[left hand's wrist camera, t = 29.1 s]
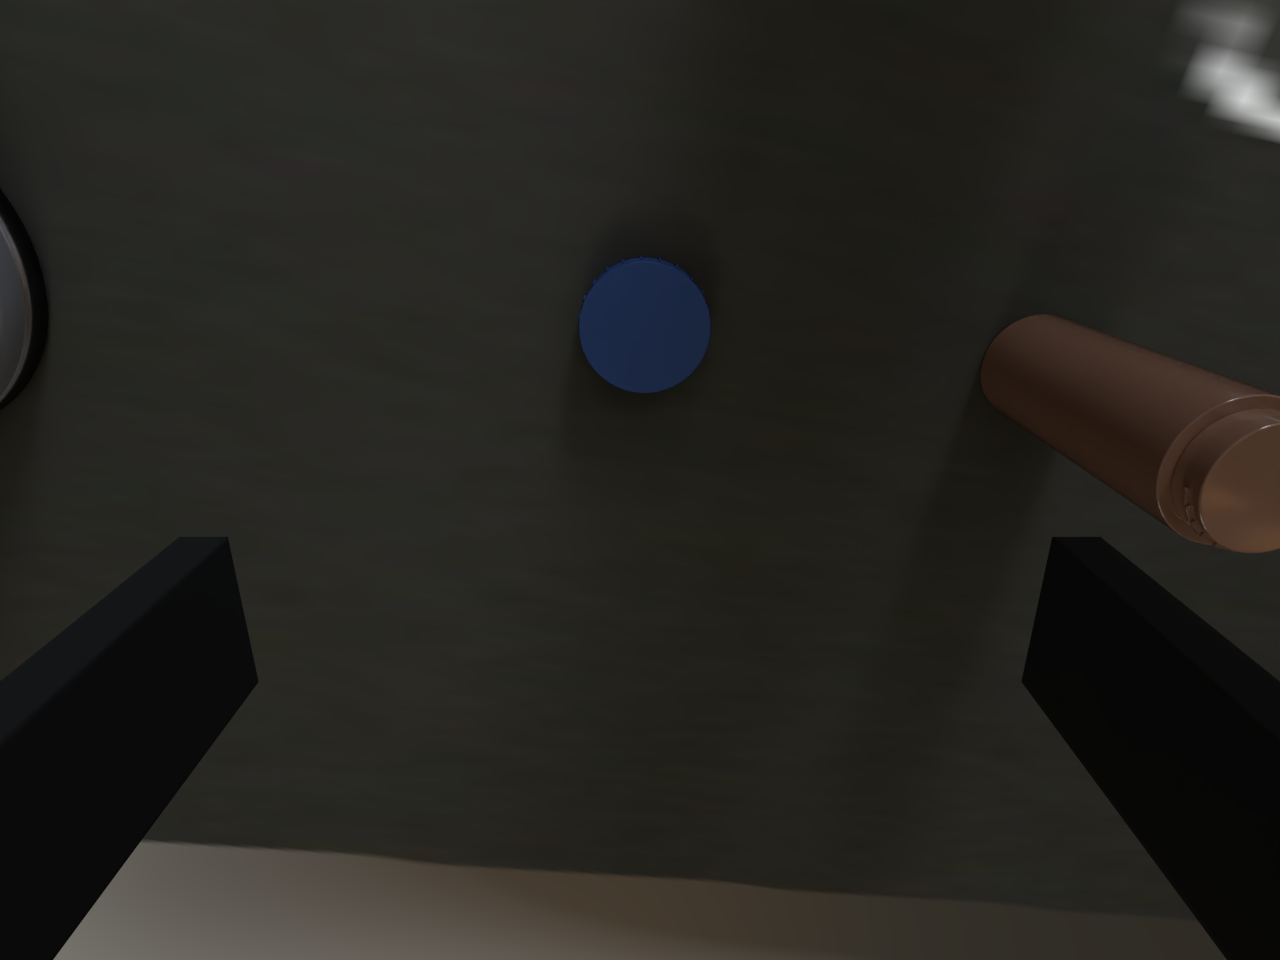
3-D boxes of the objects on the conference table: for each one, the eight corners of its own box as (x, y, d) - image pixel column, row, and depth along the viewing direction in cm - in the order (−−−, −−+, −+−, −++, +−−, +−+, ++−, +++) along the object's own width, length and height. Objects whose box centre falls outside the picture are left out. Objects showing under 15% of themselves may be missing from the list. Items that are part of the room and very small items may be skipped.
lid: (735, 302, 37) (739, 308, 35) (663, 408, 39) (664, 418, 37) (624, 228, 36) (623, 231, 34) (556, 342, 37) (552, 350, 36)
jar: (970, 416, 39) (1163, 562, 24) (992, 311, 37) (1215, 403, 23) (1073, 420, 39) (1326, 569, 25) (1100, 316, 37) (1391, 411, 23)
